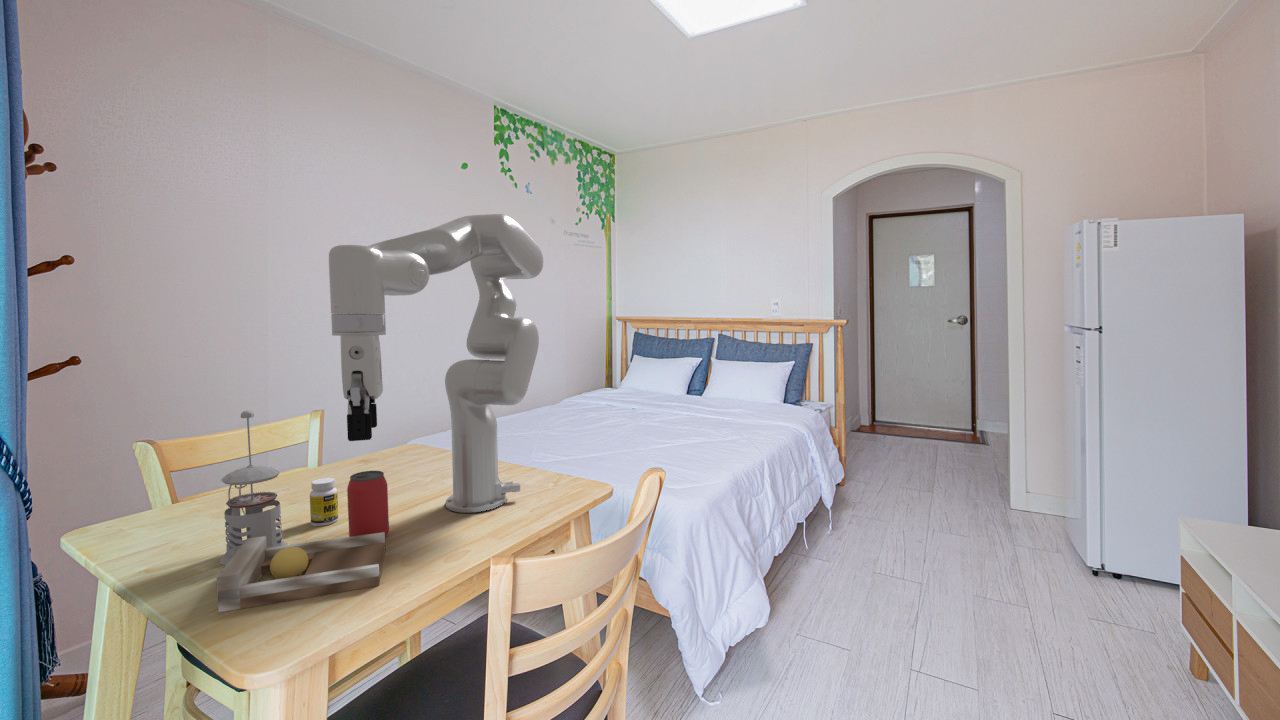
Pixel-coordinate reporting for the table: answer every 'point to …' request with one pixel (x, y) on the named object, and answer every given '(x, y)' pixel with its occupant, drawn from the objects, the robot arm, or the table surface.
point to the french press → (251, 507)
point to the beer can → (368, 503)
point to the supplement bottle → (323, 502)
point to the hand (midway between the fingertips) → (363, 433)
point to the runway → (327, 573)
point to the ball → (289, 563)
